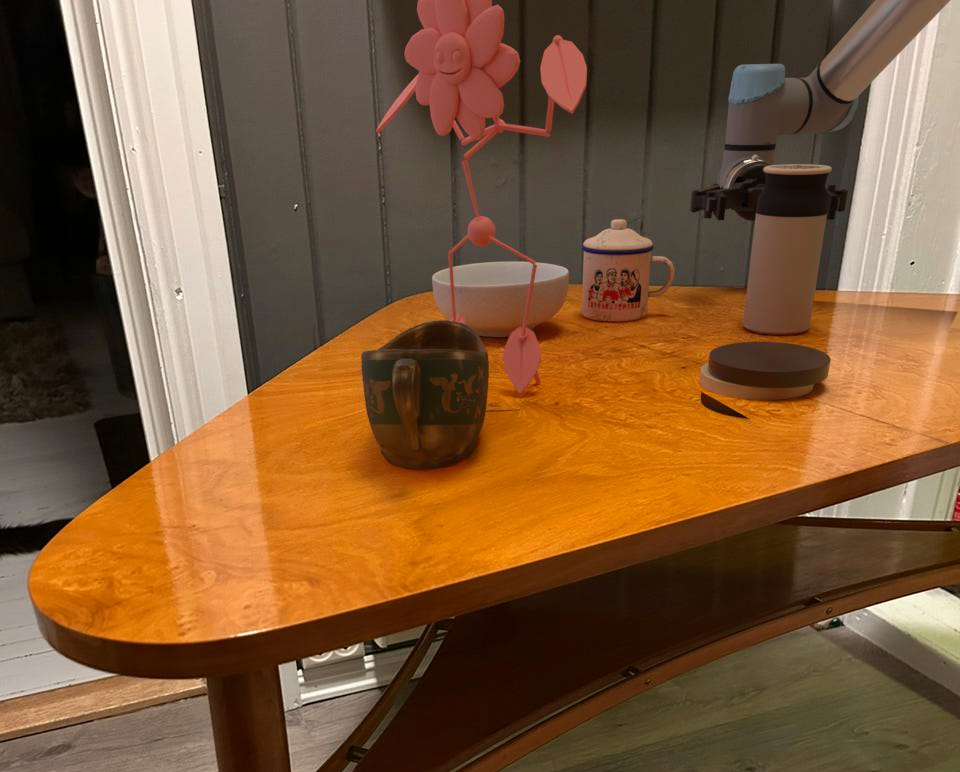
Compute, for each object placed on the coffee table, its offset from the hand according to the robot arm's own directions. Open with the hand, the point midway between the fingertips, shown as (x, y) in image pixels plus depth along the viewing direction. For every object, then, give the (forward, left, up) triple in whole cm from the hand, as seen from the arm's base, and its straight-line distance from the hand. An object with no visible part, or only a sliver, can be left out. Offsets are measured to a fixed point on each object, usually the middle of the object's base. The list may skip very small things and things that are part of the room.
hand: (777, 208), depth 118 cm
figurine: (+48, +20, -13) cm, 53 cm away
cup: (+55, +36, -13) cm, 67 cm away
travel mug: (+4, +9, -13) cm, 16 cm away
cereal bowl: (+36, -3, -13) cm, 38 cm away
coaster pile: (+22, +35, -13) cm, 43 cm away
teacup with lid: (+18, -5, -13) cm, 22 cm away
